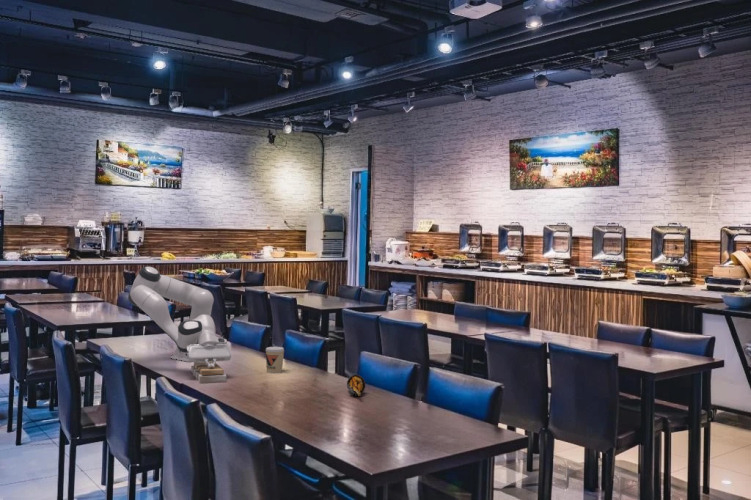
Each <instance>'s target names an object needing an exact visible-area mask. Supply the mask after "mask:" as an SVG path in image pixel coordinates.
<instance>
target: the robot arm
mask: <svg viewBox="0 0 751 500" xmlns="http://www.w3.org/2000/svg"><path fill="white" fill-rule="evenodd" d="M127 298H128V299H127V300H128V302H129V303H130V304H131V305H133V306H135V307H138V308H139V309H140V310H141V311H143V312H144V313H145V314H146V315H147V316H148V317H150V318H151V319H152V320H153V322H155V323H156V325H158V327H159V328H160V329H161V330H162V331H163V332H164V333H165V334H166V335H167V336H168V337H169V338H171V340H172V341H173V342H174V343H175V345H176V348H175V352H174V354H173V355H171V356H170V359H171V358H172V359H171V360H176V359H177V361H181V360H182V361H183V362H188V363H194V362H205V364H206V365H207V366H208V369H209V368H214V364H215V363H216V364H217V362H224V361H225V362H226V361H230V360H231V358H232V351H231V347H230V346H229V344H228V340H227V338H222V337H220V336H219V337H218V336H217V335H216V332H217V331H216V325H215V321H214V319H213V317H212V316H211V315H212V310H213V305H214V301H215V298H214V296H213V293H212V292H211V291H210V290H208V289H205V288H202V287H200V286H196V285H193V284H191V283H189V282H185V281H182V280H179V279H176V278H174V277H171V276H167V275H163V274H161V273H160V272H159V270H158V269H156V268H155V267H153V266H150V265H146V266H142V268H141V269H139V272H138V273H137V275H136V277H135V278H134V281H133V284H132V286H131V289H130V292H129V293H128V296H127ZM165 299H169V300H172V301H175V302H178V303H181V304H184V305H187V306H190V307H191V310H190V311H191V312H190V316H189V319H188V320H187V319H186V320H183V321H181V322H180V323H179V325H177V324H176V323H175V322H174V321H173V320H172V318H171V315H170V310H169V305H168V303H167V301H166V300H165ZM209 361H212V362H213V363H212V364H209Z"/></svg>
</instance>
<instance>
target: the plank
mask: <svg viewBox="0 0 751 500" xmlns="http://www.w3.org/2000/svg"><path fill="white" fill-rule="evenodd" d="M198 371H199V372H200V373H201V374H202V375H216V374H225V370H224V369H223V367H221V365H218V364H217V365H214V368H209V369H208V366H198Z"/></svg>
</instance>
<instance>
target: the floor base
mask: <svg viewBox="0 0 751 500" xmlns="http://www.w3.org/2000/svg"><path fill="white" fill-rule="evenodd" d="M208 362H209V364H212V363H213V362H212V361H208ZM214 365H218V363H217V362H216V363H215V364H214ZM198 366H207V365H206V364H205V362H193V365H191V366H190V367H191V369H190V372H191V373H192V375H193V376H194V377H195V379H196V380H197V381H198V382H199V384H211V383H214V384H215V383H226V382H227V375H226V373H224V374H216V375H202V374H201V373H200V372H199V371H198Z"/></svg>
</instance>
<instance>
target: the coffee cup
mask: <svg viewBox="0 0 751 500" xmlns="http://www.w3.org/2000/svg"><path fill="white" fill-rule="evenodd" d="M284 354H285V349H284V347H282V346H281V347H280V346H269V347H266V348H265V361H266V366H265V367H266V372H267V373H269V374H279V373H282V372H283V366H284V365H283V363H284Z"/></svg>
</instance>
